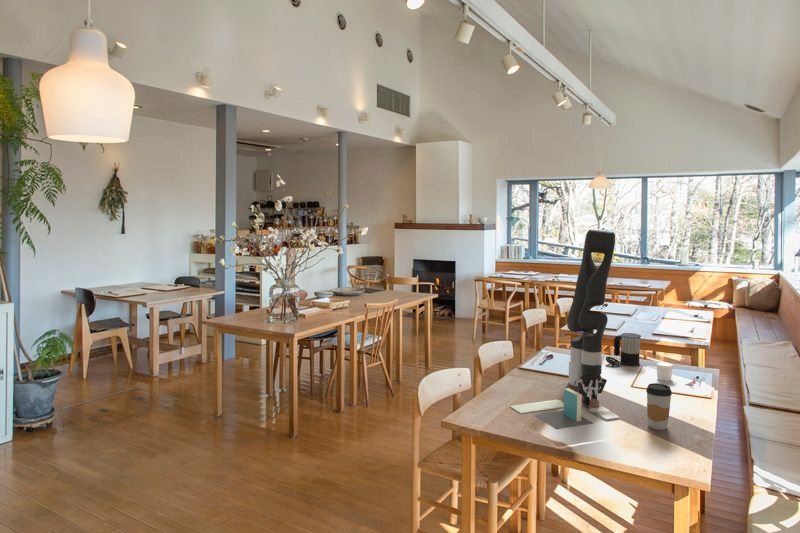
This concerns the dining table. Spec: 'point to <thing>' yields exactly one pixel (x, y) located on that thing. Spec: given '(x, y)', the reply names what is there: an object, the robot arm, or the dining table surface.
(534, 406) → the board
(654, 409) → the coffee cup
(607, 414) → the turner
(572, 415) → the tile
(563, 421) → the mat
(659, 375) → the white cup
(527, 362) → the dining table surface
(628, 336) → the milk frother
